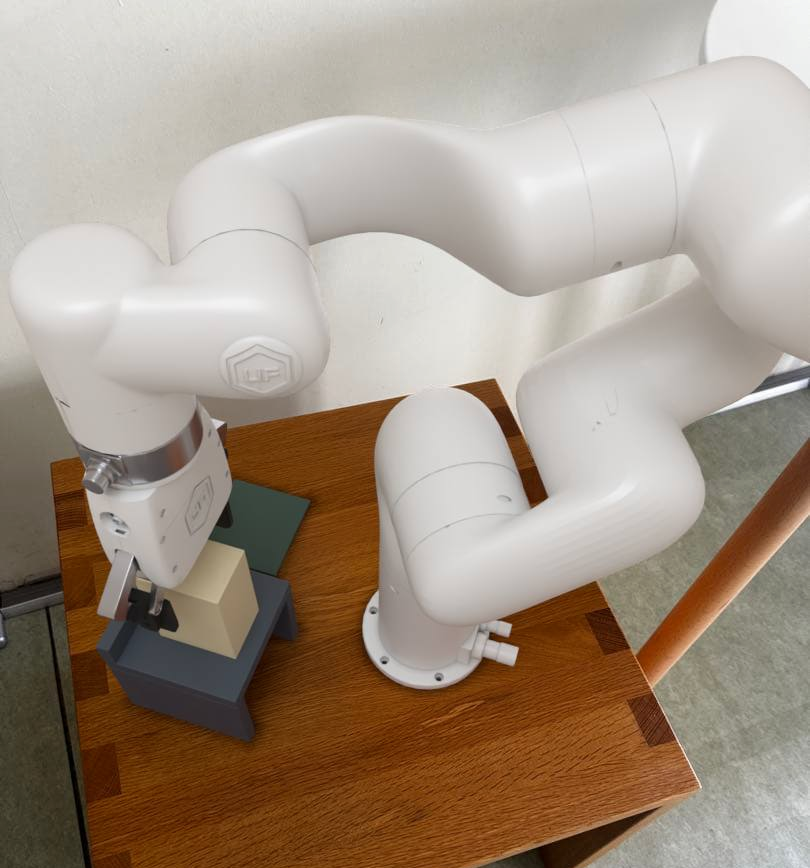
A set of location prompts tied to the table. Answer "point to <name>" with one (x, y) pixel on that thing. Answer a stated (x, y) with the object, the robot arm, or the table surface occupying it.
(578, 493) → the robot arm
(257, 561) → the mat
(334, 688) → the table surface
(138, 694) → the shelf
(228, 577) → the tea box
